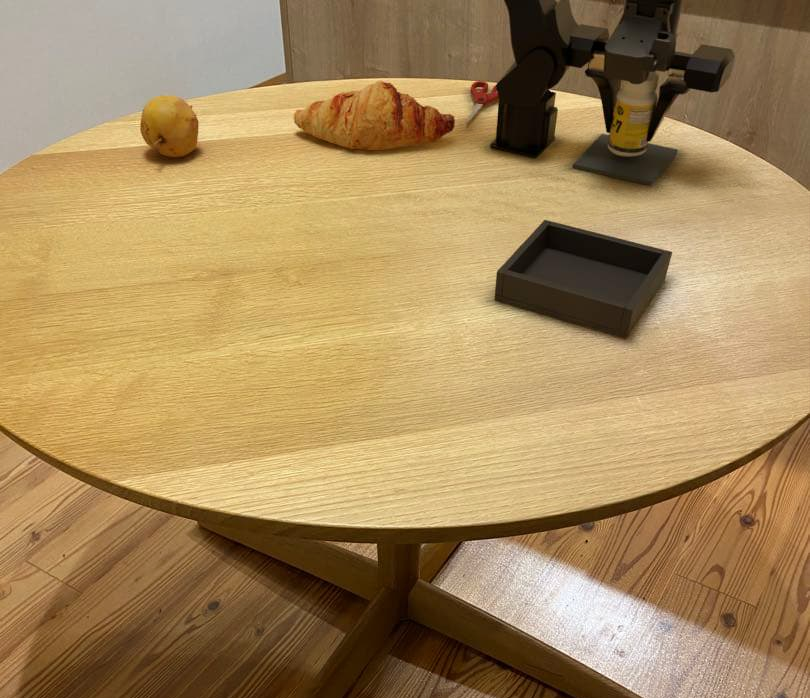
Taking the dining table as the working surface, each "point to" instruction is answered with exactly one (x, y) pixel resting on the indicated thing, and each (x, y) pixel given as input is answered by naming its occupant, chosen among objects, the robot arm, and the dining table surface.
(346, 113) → the croissant
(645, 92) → the supplement bottle
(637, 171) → the mat
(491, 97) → the scissors
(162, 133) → the fruit
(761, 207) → the dining table surface
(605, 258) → the tray
